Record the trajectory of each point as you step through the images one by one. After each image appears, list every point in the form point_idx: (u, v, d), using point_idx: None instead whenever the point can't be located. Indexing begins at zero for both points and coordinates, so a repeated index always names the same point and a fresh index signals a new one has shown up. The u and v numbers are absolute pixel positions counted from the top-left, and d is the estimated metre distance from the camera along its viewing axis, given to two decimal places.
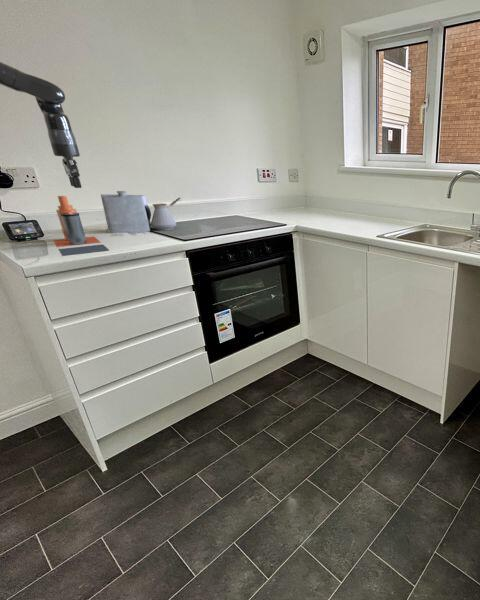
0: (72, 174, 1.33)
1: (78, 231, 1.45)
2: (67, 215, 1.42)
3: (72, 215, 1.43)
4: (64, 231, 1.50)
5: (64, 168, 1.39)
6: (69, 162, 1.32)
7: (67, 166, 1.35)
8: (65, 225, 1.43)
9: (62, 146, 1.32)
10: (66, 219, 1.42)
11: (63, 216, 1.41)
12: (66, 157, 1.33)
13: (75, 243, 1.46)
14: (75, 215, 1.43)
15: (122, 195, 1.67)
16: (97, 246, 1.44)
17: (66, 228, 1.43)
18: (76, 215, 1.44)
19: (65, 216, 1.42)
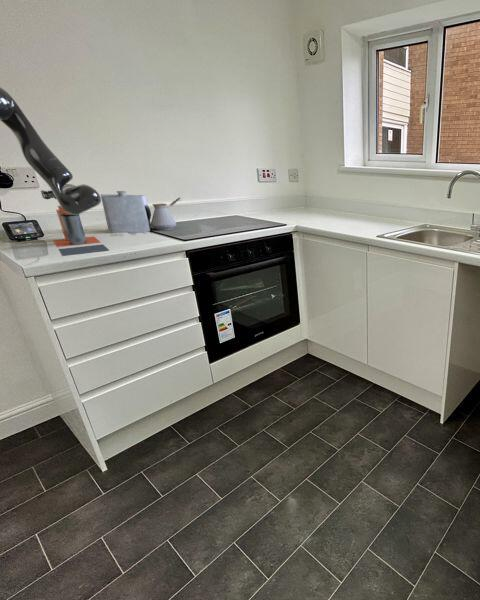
0: (41, 192, 1.24)
1: (78, 231, 1.45)
2: (67, 215, 1.42)
3: (72, 215, 1.43)
4: (64, 231, 1.50)
5: None
6: (43, 193, 1.22)
7: None
8: (65, 225, 1.43)
9: None
10: (66, 219, 1.42)
11: (63, 216, 1.41)
12: None
13: (75, 243, 1.46)
14: (75, 215, 1.43)
15: (122, 195, 1.67)
16: (97, 246, 1.44)
17: (66, 228, 1.43)
18: (76, 215, 1.44)
19: (65, 216, 1.42)
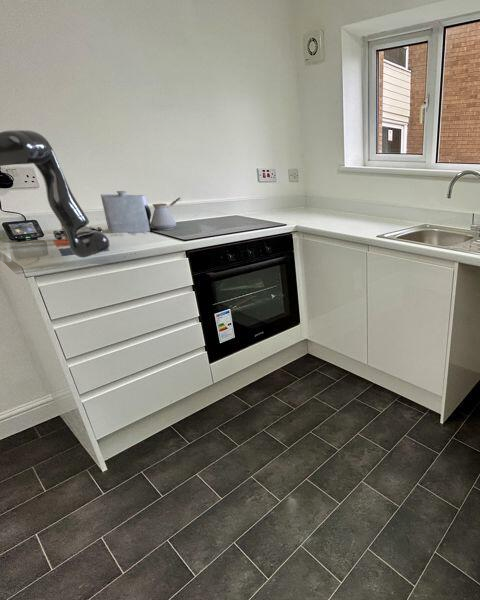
0: (53, 232, 1.32)
1: None
2: None
3: None
4: None
5: None
6: (55, 234, 1.30)
7: None
8: None
9: None
10: None
11: None
12: None
13: None
14: None
15: (122, 195, 1.67)
16: None
17: None
18: None
19: None
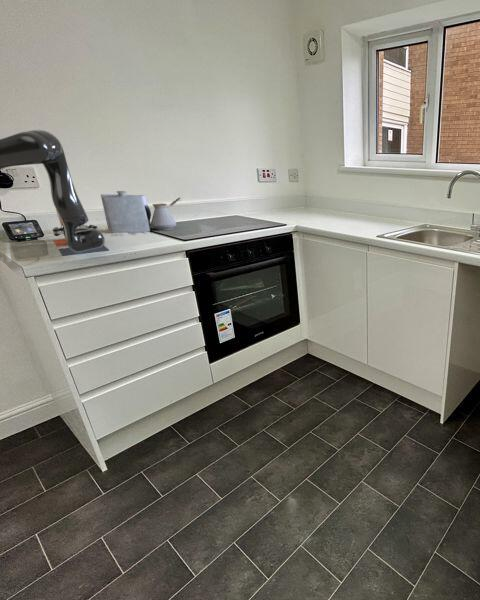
0: None
1: None
2: None
3: None
4: None
5: None
6: (53, 231, 1.37)
7: None
8: None
9: None
10: None
11: None
12: (64, 230, 1.38)
13: None
14: None
15: (122, 195, 1.67)
16: None
17: None
18: None
19: None
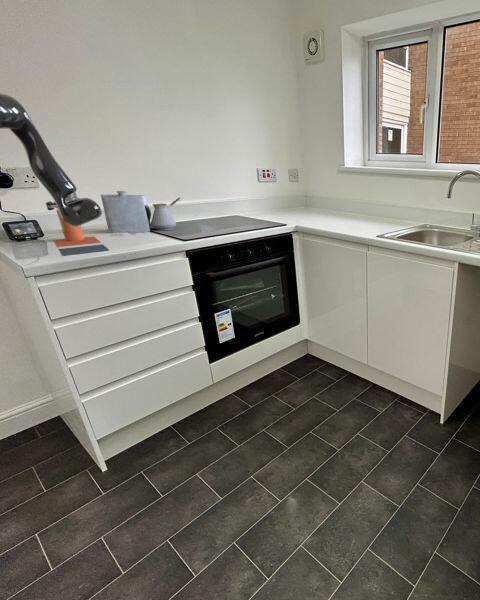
0: None
1: None
2: None
3: None
4: (64, 231, 1.50)
5: None
6: (46, 204, 1.26)
7: None
8: None
9: None
10: None
11: None
12: None
13: None
14: None
15: (122, 195, 1.67)
16: (97, 246, 1.44)
17: None
18: None
19: None
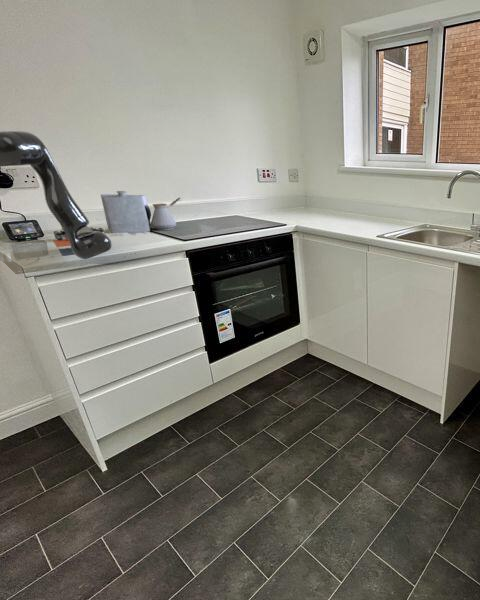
0: (54, 232, 1.30)
1: None
2: None
3: None
4: None
5: (89, 228, 1.35)
6: (56, 235, 1.27)
7: None
8: None
9: None
10: None
11: None
12: None
13: None
14: None
15: (122, 195, 1.67)
16: None
17: None
18: None
19: None
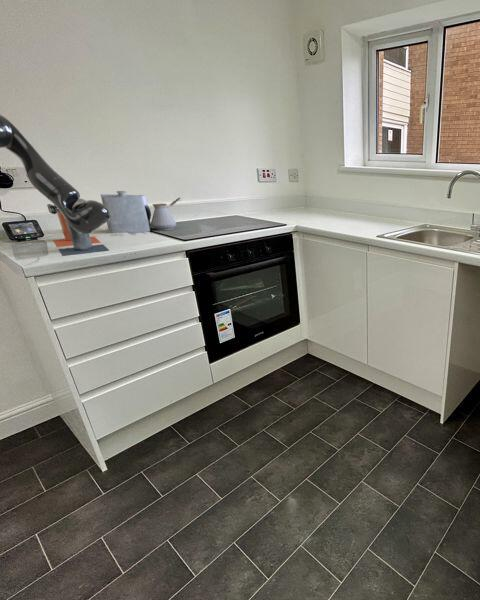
0: None
1: (83, 236, 1.36)
2: None
3: None
4: (64, 231, 1.50)
5: None
6: (49, 207, 1.15)
7: None
8: (70, 230, 1.34)
9: None
10: None
11: None
12: None
13: (80, 249, 1.37)
14: None
15: (122, 195, 1.67)
16: (97, 246, 1.44)
17: (71, 233, 1.35)
18: None
19: None
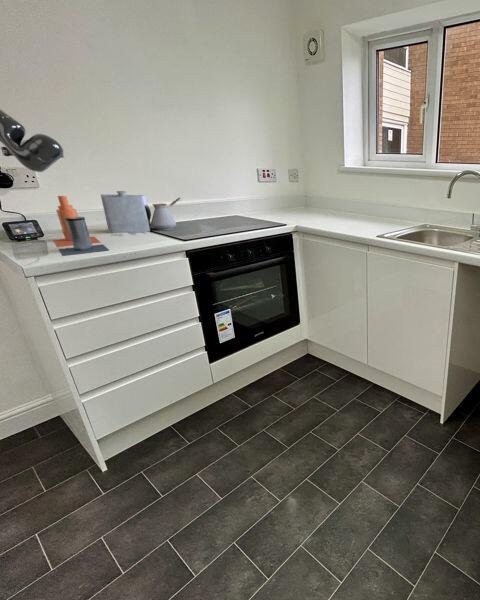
0: (1, 148, 1.10)
1: (83, 236, 1.36)
2: (72, 219, 1.33)
3: (77, 219, 1.34)
4: (64, 231, 1.50)
5: None
6: (2, 149, 1.08)
7: None
8: (70, 230, 1.34)
9: None
10: (71, 224, 1.33)
11: (68, 220, 1.33)
12: None
13: (80, 249, 1.37)
14: (80, 219, 1.35)
15: (122, 195, 1.67)
16: (97, 246, 1.44)
17: (71, 233, 1.35)
18: (81, 219, 1.35)
19: (70, 220, 1.33)
